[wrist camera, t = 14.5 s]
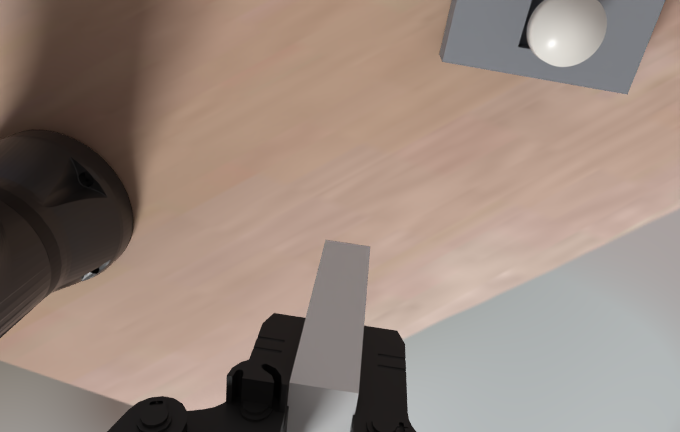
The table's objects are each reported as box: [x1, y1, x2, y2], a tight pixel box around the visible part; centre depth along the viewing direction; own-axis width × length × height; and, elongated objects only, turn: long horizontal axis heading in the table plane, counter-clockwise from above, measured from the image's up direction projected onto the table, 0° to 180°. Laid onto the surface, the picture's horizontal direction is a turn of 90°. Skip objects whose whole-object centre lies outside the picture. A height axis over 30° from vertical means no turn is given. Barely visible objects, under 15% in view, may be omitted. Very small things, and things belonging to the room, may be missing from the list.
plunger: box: [527, 0, 607, 67], centre depth 32 cm, size 4×4×5 cm
